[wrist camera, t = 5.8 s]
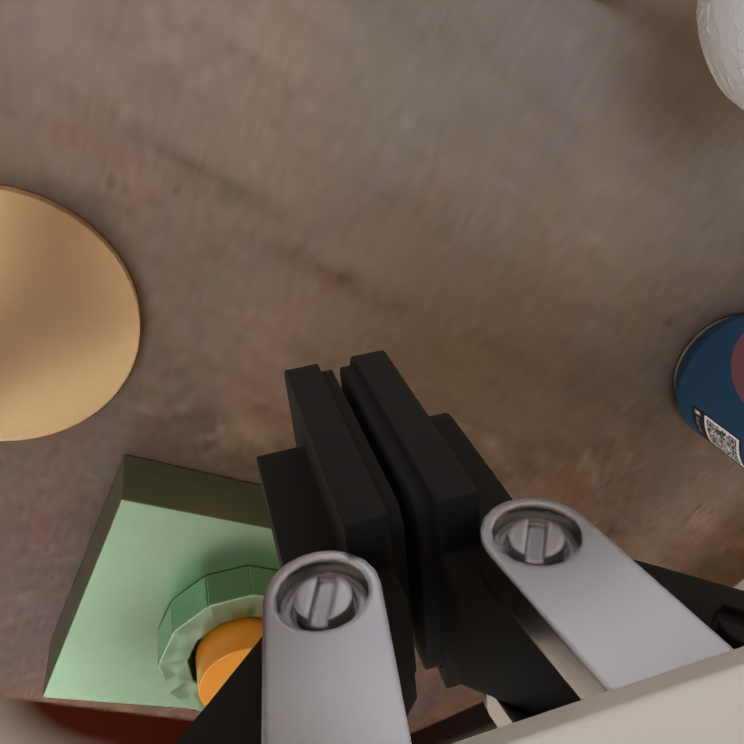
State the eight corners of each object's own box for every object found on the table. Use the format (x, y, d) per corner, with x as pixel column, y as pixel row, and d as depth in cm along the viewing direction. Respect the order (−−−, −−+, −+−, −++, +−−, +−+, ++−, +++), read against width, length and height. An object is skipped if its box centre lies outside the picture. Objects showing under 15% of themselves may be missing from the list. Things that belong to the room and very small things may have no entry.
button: (182, 678, 30) (183, 713, 29) (215, 610, 29) (218, 643, 28) (267, 686, 32) (273, 719, 31) (301, 622, 31) (309, 653, 29)
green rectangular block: (50, 640, 33) (36, 734, 29) (123, 453, 30) (119, 529, 26) (313, 669, 39) (334, 750, 35) (400, 516, 36) (434, 586, 32)
